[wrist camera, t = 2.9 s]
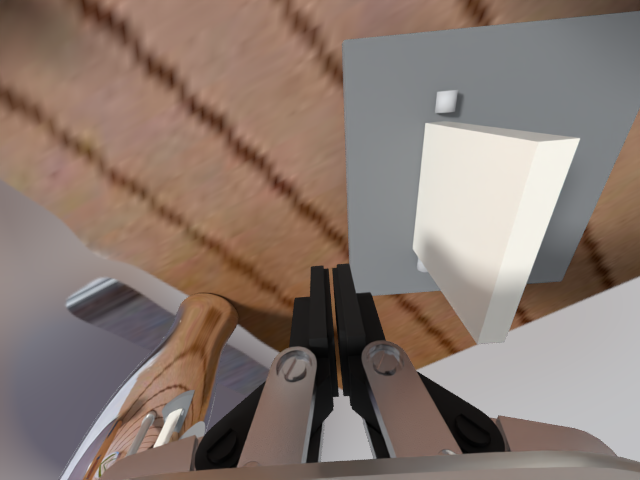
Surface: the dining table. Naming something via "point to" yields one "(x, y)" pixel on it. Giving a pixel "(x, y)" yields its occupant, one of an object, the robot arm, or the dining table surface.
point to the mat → (486, 110)
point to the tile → (486, 216)
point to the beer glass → (161, 390)
